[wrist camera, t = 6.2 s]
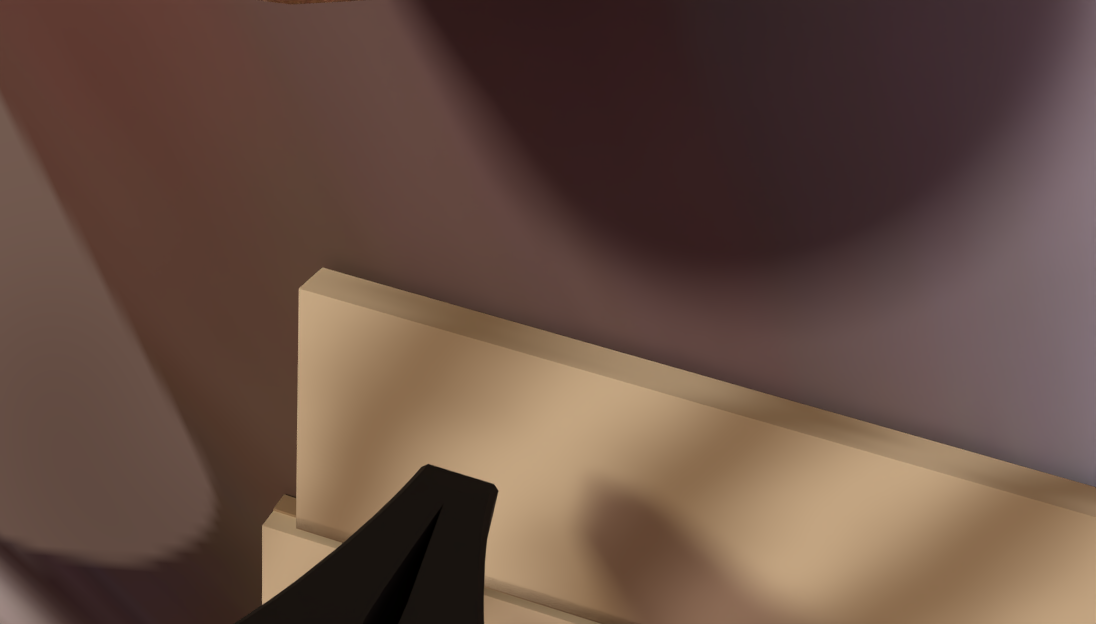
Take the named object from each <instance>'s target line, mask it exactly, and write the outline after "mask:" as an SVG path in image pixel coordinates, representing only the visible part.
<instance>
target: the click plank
mask: <svg viewBox="0 0 1096 624" xmlns="http://www.w3.org/2000/svg"><path fill="white" fill-rule="evenodd" d="M427 464H431V465H434V466H437V467H440V468H444V469H447V470H450V471H453V472H457V473H460V474H463V475H466V476H470V477H473V478H476V479H480V480H483V481H486V482H489V483H493V484H494V485H495V486H496V488H497V489H498V496H497V500H496V504H495V508H494V513H493V517H492V521H491V525H490V530H489V534H488V538H487V546H486V557H485V578H484V587H485V588H488V589H491V590H495V591H498V592H501V593H504V594H507V595H511V596H514V597H517V598H520V599H523V600H527V601H530V602H533V603H536V604H539V605H543V606H546V607H549V608H552V609H555V610H559V611H562V612H565V613H568V614H571V615H575V616H578V617H581V618H584V619H587V620H591V621H594V622H597V623H600V624H1096V487H1093V486H1089V485H1086V484H1082V483H1079V482H1075V481H1072V480H1068V479H1065V478H1061V477H1058V476H1054V475H1051V474H1047V473H1044V472H1040V471H1037V470H1033V469H1030V468H1026V467H1023V466H1019V465H1016V464H1012V463H1008V462H1005V461H1001V460H998V459H994V458H991V457H987V456H984V455H980V454H977V453H973V452H970V451H966V450H963V449H959V448H956V447H952V446H949V445H945V444H942V443H938V442H935V441H931V440H928V439H924V438H921V437H917V436H913V435H910V434H906V433H903V432H899V431H896V430H892V429H889V428H885V427H882V426H878V425H875V424H871V423H868V422H864V421H861V420H857V419H854V418H850V417H847V416H843V415H840V414H836V413H833V412H829V411H825V410H822V409H818V408H815V407H811V406H808V405H804V404H801V403H797V402H794V401H790V400H787V399H783V398H780V397H776V396H773V395H769V394H766V393H762V392H759V391H755V390H752V389H748V388H745V387H741V386H737V385H734V384H730V383H727V382H723V381H720V380H716V379H713V378H709V377H706V376H702V375H699V374H695V373H692V372H688V371H685V370H681V369H678V368H674V367H671V366H667V365H664V364H660V363H657V362H653V361H649V360H646V359H642V358H639V357H635V356H632V355H628V354H625V353H621V352H618V351H614V350H611V349H607V348H604V347H600V346H597V345H593V344H590V343H586V342H583V341H579V340H576V339H572V338H569V337H565V336H562V335H558V334H554V333H551V332H547V331H544V330H540V329H537V328H533V327H530V326H526V325H523V324H519V323H516V322H512V321H509V320H505V319H502V318H498V317H495V316H491V315H488V314H484V313H481V312H477V311H474V310H470V309H466V308H463V307H459V306H456V305H452V304H449V303H445V302H442V301H438V300H435V299H431V298H428V297H424V296H421V295H417V294H414V293H410V292H407V291H403V290H400V289H396V288H393V287H389V286H386V285H382V284H378V283H375V282H371V281H368V280H364V279H361V278H357V277H354V276H350V275H347V274H343V273H340V272H336V271H333V270H329V269H326V268H321V269H320V270H319V271H318V272H317V273H316V274H315V275H313V276H312V277H311V278H310V279H309V280H308V281H307V282H306V283H305V284H303V285H302V286H301V287H300V288H299V328H298V410H297V492H296V529H300V530H303V531H306V532H309V533H312V534H316V535H319V536H322V537H325V538H328V539H332V540H335V541H338V542H341V543H343V542H345V541H346V540H347V539H348V538H349V537H350V536H351V535H353V534H354V533H355V532H356V531H357V530H358V529H359V528H360V527H362V526H363V525H364V524H365V523H366V522H367V521H368V520H369V519H371V518H372V517H373V516H374V515H375V514H376V513H377V512H378V511H379V510H380V509H381V508H382V507H383V506H384V505H385V504H386V503H387V502H389V501H390V500H391V499H392V498H393V497H394V496H395V495H396V494H397V493H398V492H399V491H400V490H401V489H402V487H403V486H404V485H405V484H406V483H407V482H408V481H409V480H410V479H411V478H412V477H413V476H414V475H415V473H416V472H417V471H418V470H419V469H420V468H421V467H422V466H424V465H427Z"/></svg>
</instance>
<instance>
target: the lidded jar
mask: <svg viewBox="0 0 1096 624" xmlns="http://www.w3.org/2000/svg"><path fill="white" fill-rule="evenodd" d="M261 1H269V2H277V3H284V4H305V3H323V2H342V1H360V0H261Z"/></svg>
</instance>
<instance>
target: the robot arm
mask: <svg viewBox="0 0 1096 624" xmlns="http://www.w3.org/2000/svg"><path fill="white" fill-rule="evenodd" d="M497 496H498V489H497V488H496V486H495V485H494V484H493V483H489V482H486V481H483V480H480V479H476V478H473V477H470V476H466V475H463V474H460V473H457V472H453V471H450V470H447V469H444V468H440V467H437V466H434V465H431V464H427V465H424V466H422V467H421V468H420V469H419V470H418V471H417V472H416V473H415V475H414V476H413V477H412V478H411V479H410V480H409V481H408V482H407V483H406V484H405V485H404V486H403V487H402V489H401V490H400V491H399V492H398V493H397V494H396V495H395V496H394V497H393V498H392V499H391V500H390V501H389V502H387V503H386V504H385V505H384V506H383V507H382V508H381V509H380V510H379V511H378V512H377V513H376V514H375V515H374V516H373V517H372V518H371V519H369V520H368V521H367V522H366V523H365V524H364V525H363V526H362V527H360V528H359V529H358V530H357V531H356V532H355V533H354V534H353V535H351V536H350V537H349V538H348V539H347V540H346V541H345V542H343V543H342V544H341V545H340V546H339V547H338V548H336V549H335V550H334V551H333V552H331V553H330V554H329V555H328V556H326V557H325V558H324V559H323V560H321V561H320V562H319V563H318V564H316V565H315V566H314V567H313V568H311V569H310V570H309V571H308V572H306V573H305V574H304V575H303V576H301V577H300V578H299V579H297V580H296V581H295V582H293V583H292V584H291V585H289V586H288V587H287V588H285V589H284V590H283V591H281V592H280V593H278V594H277V595H276V596H274V597H273V598H271V599H270V600H269V601H267V602H266V603H264V604H263V605H261V606H260V607H258V608H257V609H255V610H254V611H252V612H251V613H249V614H248V615H247V616H245V617H244V618H242V619H240V620H239V621H237V622H236V623H234V624H484V578H485V557H486V546H487V538H488V534H489V530H490V525H491V521H492V517H493V513H494V508H495V504H496V500H497Z"/></svg>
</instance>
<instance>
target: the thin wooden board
mask: <svg viewBox="0 0 1096 624" xmlns="http://www.w3.org/2000/svg"><path fill="white" fill-rule="evenodd" d="M341 544H342V543H341V542H338V541H335V540H332V539H328V538H325V537H322V536H319V535H316V534H312V533H309V532H306V531H303V530H300V529H296V498H294V497H291V496H288V495H283V497H282V498H281V499H280V501H279V502H278V503H277V505H276V506H275V507H274V511H273V512H272V514H271V515H270V516H269V518H268V519H267V520H266V522H265V523H264V524H263V525H262V605H263V604H264V603H266V602H267V601H269V600H270V599H271V598H273V597H274V596H276V595H277V594H278V593H280V592H281V591H283V590H284V589H285V588H287V587H288V586H289V585H291V584H292V583H293V582H295V581H296V580H297V579H299V578H300V577H301V576H303V575H304V574H305V573H306V572H308V571H309V570H310V569H311V568H313V567H314V566H315V565H316V564H318V563H319V562H320V561H321V560H323V559H324V558H325V557H326V556H328V555H329V554H330V553H331V552H333V551H334V550H335V549H336V548H338V547H339V546H340V545H341ZM484 624H600V623H597V622H594V621H591V620H587V619H584V618H581V617H578V616H575V615H571V614H568V613H565V612H562V611H559V610H555V609H552V608H549V607H546V606H543V605H539V604H536V603H533V602H530V601H527V600H523V599H520V598H517V597H514V596H511V595H507V594H504V593H501V592H498V591H495V590H491V589H488V588H485V587H484Z"/></svg>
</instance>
